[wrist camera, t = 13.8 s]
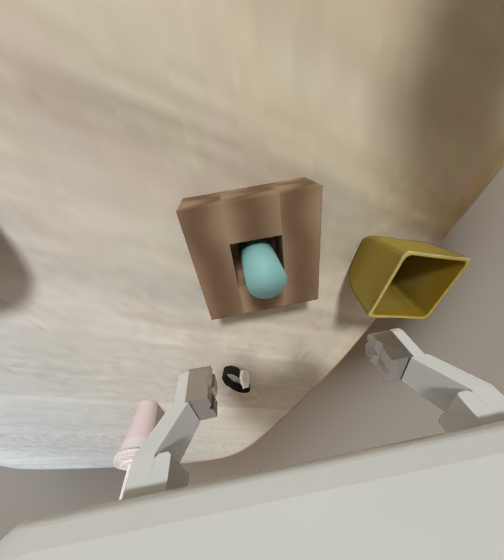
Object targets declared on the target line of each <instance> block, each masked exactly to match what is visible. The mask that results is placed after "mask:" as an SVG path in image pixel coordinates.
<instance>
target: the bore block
mask: <svg viewBox="0 0 504 560" xmlns="http://www.w3.org/2000/svg"><path fill="white" fill-rule="evenodd" d="M322 187H323V186H322V185H320V184H318V183H316V182H314V181H312V180H309V179H307V178H299V179H293V180H288V181H282V182H276V183H270V184H265V185H259V186H253V187H247V188H242V189H236V190H230V191H224V192H219V193H213V194H207V195H201V196H196V197H190V198H184V199H183V200H182V202H181V203H180V205H179V207H178V209H177V211H176V212H177V215H178V219H179V222H180V225H181V228H182V231H183V234H184V237H185V240H186V243H187V246H188V249H189V252H190V255H191V258H192V261H193V264H194V267H195V270H196V273H197V276H198V279H199V282H200V285H201V288H202V291H203V294H204V298H205V301H206V304H207V307H208V310H209V313H210V316H211V319H212V320H214V319H219V318H224V317H229V316H234V315H239V314H244V313H250V312H255V311H260V310H265V309H270V308H275V307H280V306H285V305H291V304H296V303H301V302H306V301H311V300H316V299H318V285H319V261H320V236H321V212H322ZM262 238H268V240H269V242H270V244H271V246H272V248H273V250H274V251H275V253H276V255H277V257H278V259H279V261H280V263H281V265H282V267H283V269H284V271H285V273H286V275H287V283H286V286H285V288H284V289H283V291H282V292H281V293H279V294H278V295H276V296H274V297H272V298H268V299H261V298H257V297H254V296H253V295H251V294H250V293H249V291H248V289H247V286H246V281H245V276H244V272H243V267H242V262H241V257H240V253H239V244H240V242H246V241H251V240H257V239H262Z"/></svg>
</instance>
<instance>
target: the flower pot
mask: <svg viewBox="0 0 504 560" xmlns="http://www.w3.org/2000/svg"><path fill="white" fill-rule="evenodd" d="M471 261H472V260H471V259H470V258H468V257H465V256H463V255H460V254H457V253H454V252H451V251H448V250H445V249H442V248H440V247H437V246H434V245H431V244H427V243H423V242H418V241H410V240H401V239H393V238H386V237H380V236H369V237H365V238H364V239H363V241H362V243H361V245H360V247H359V249H358V252H357V254H356V256H355V258H354V260H353V262H352V264H351V267H350V284H351V288H352V290H353V292H354V294H355V295H356V297H357V299H358V300H359V302H360V303H361V305H362V307H363V308H364V310H365V311H366V313H367V314H368V316H369V317H375V318H382V317H383V318H410V319H426V318H427V317H428V316H429V315H430V314H431V313H432V312H433V310H434V309H435V308H436V306H437V305H438V304H439V302H440V301H441V300H442V298H443V297H444V296H445V295H446V293H447V292H448V291H449V289H450V288H451V287H452V286H453V284H454V283H455V282H456V280H457V279H458V278H459V277H460V275H461V274H462V273H463V272H464V270H465V269H466V268H467V266H468V265H469V264H470V262H471Z"/></svg>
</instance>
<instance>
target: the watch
mask: <svg viewBox="0 0 504 560" xmlns="http://www.w3.org/2000/svg"><path fill="white" fill-rule="evenodd" d="M226 374H233V375H235V376H237V377H238V378H239V379H240V383H241V384H239V383H236V382H234V381H232V380H231V379H230V378H229V377H228V376H227V375H226ZM222 379H223V381H224V383H225V384H226V385H227V386H229V387H230V388H231V389H233V390H235V391H238V392H242V393H247V392H249V391H250V376H249V373H248V371H247V370H242V371H241V369H238V368H236V367H234V366H227V367H225V368H224V371H223V376H222Z"/></svg>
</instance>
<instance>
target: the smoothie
mask: <svg viewBox="0 0 504 560" xmlns="http://www.w3.org/2000/svg"><path fill="white" fill-rule="evenodd" d="M157 408H158V404H157V403H156V402H155V401H152V400H144V401H141V402H140V403H139V404H138V407H137V409H136V411H135V414H134V416H133V418H132V421H131V423H130V426H129V428H128V430H127V433H126V435H125V437H124V440H123V442H122V444H121V447H120V449H119V452H118V453H117V454H116V455H115V457H114V461H113V465H114V467H116V468H118V469H121V470H127V472H126V475H125V479H124V483H123V486H122V490H121V494H120V498H119V500H122V497H123V494H124V490H125V486H126V482H127V479H128V475H129V471H130V468H131V464H132V460H133V457H134V456H135V454H136V453H137V451H138V450H139V449H140V447H141V446H142V444H143V443H144V442H145V440H146V439H147V438H148V436H149V435H150V433H151V432H152V431H153V429H154V428H155V426H156V418H157Z"/></svg>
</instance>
